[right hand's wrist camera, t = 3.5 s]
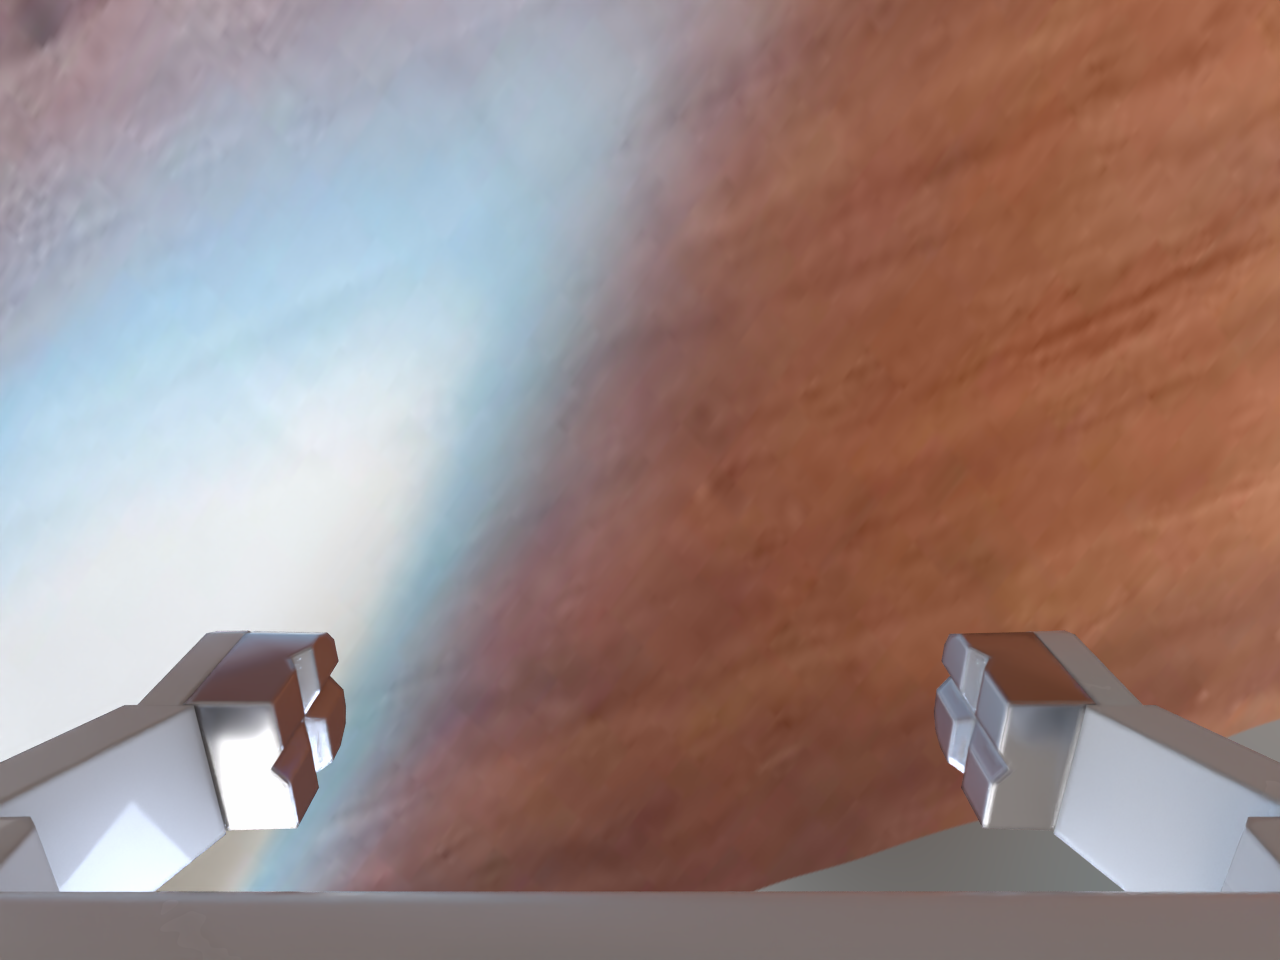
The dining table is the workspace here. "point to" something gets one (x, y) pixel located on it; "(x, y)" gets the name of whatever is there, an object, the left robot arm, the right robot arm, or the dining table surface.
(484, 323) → the dining table surface
